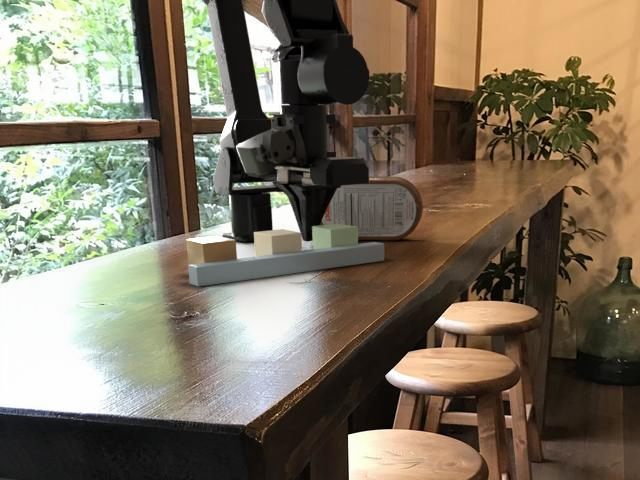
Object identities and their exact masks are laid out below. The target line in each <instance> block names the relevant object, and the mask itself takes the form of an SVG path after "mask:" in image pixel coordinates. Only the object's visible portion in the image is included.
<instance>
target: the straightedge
mask: <svg viewBox="0 0 640 480" xmlns="http://www.w3.org/2000/svg"><path fill="white" fill-rule="evenodd" d="M384 261H385V243H383V242H377V241H370V242H364V243H363V242H362V243H358V244H354V245H345V246H337V247H329V248H321V249H313V248H312V249H305V250H302V251H297V252H288V253H280V254H272V255H264V256H256V257H255V256H248V257H241V258H237V259H231V260H223V261H215V262H207V263H199V264H191V265H189V264H188V265H187V269H188V276H189V278H188V279H189V284H190V285H192V286H195V287H197V288H199V287H205V286H211V285H219V284H226V283H234V282H242V281H248V280H255V279H256V280H257V279H263V278H269V277H270V278H271V277H276V276H284V275H290V274H291V275H292V274H299V273H306V272H313V271H319V270H326V269H334V268H341V267H349V266H355V265H363V264H369V263H377V262H384Z"/></svg>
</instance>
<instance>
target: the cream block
mask: <svg viewBox="0 0 640 480" xmlns="http://www.w3.org/2000/svg"><path fill="white" fill-rule="evenodd" d="M302 241H303V239H302V235H301V233H300V231H294V230H290V229H283V228H281V229H280V228H279V229H273V230H270V231H261V232H254V241H253V242H254V257H256V256H264V255H272V254H280V253H288V252H297V251H303V246H302V245H303V243H302Z"/></svg>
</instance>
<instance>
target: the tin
mask: <svg viewBox="0 0 640 480" xmlns="http://www.w3.org/2000/svg"><path fill="white" fill-rule="evenodd" d="M423 212H424V204H423V198H422V196H421V193H420V191H419V190H418V188H417V186H415V185H414V184H413V183H412V182H411V181H410V180H408V179H406V178H404V177H402V176H401V177H400V176H387V175H386V176H385V175H384V176H381V175H380V176H375V175H374V176H373V175H370V183H368V184H355V185H341V188H337V190H336V192H335V194H334V196H333V198H332V200H331V201H330V203H329V205H328V207H327V210H326V212H325V214H324V216H323V219H322V221H321V224H320V225H330V224H344V225H350V226H356V227H358V241H400V240H403V239H405V238H407V237H409V236H411V234H412V233H413V232H414V231H415V230H416V229H417V227H418V226H419V224H420V222H421V219H422V216H423Z"/></svg>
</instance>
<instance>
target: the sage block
mask: <svg viewBox="0 0 640 480" xmlns="http://www.w3.org/2000/svg"><path fill="white" fill-rule="evenodd" d="M312 236H313V241H312V250H313V249H321V248H329V247H337V246H345V245H354V244H359V240H358V227H356V226H350V225H344V224H330V225H320V226H312Z"/></svg>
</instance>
